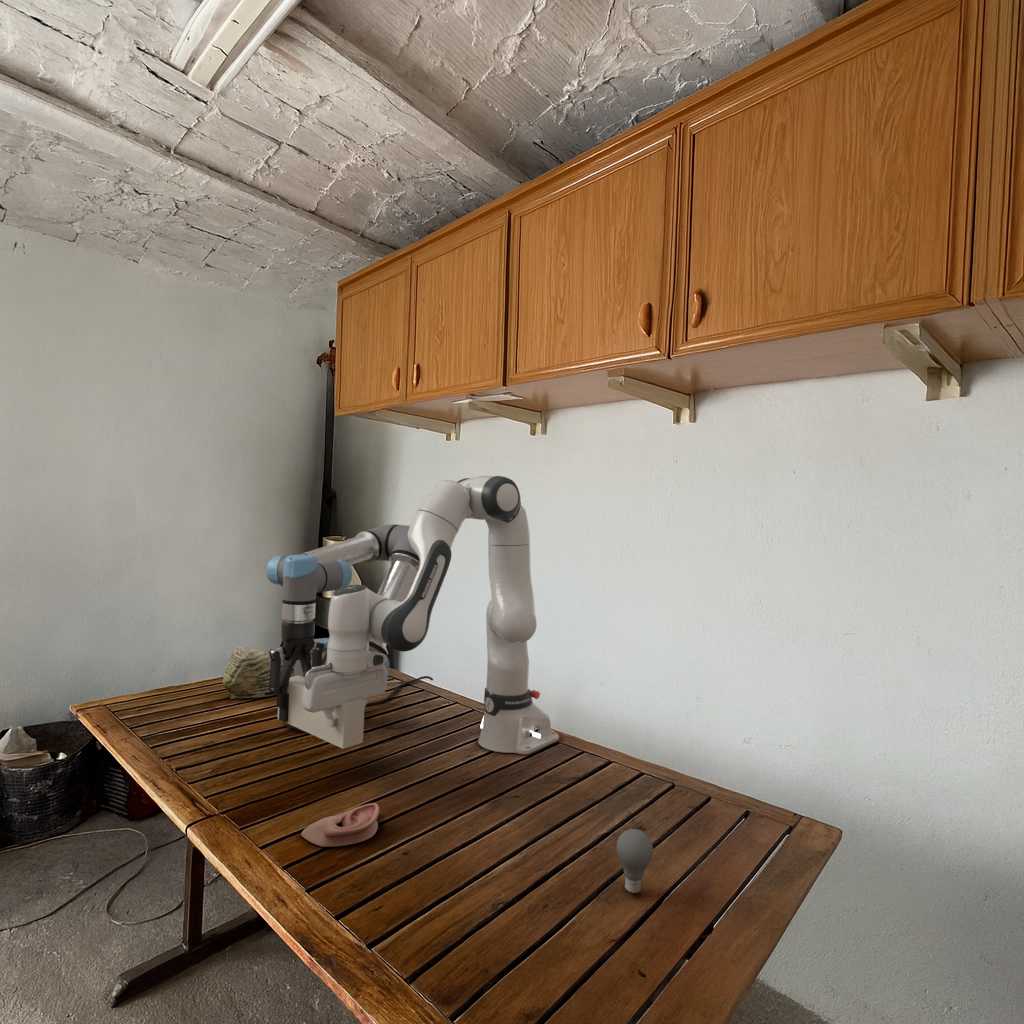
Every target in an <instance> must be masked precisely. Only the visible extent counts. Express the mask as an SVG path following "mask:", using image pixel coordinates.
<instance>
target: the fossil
mask: <svg viewBox="0 0 1024 1024" xmlns="http://www.w3.org/2000/svg"><path fill="white" fill-rule="evenodd" d="M270 665H271V659H270V655H269V654H267V653H266V652H265V650H264V649H263V648H260V647H258V648H251V647H247V646H246V647H245V646H238V647H237V648H236V649H235V650H233V651H232V653H231V656H230V657H229V659H228V660H227V663H226V666H225V668H224V671H223V675H222V676H223V677H222V685H223V687H224V688H225V690H226V691H228V693H229V698H230V699H250V698H264V697H271V696H275V695H276V696H277V694H276V693H273V692H271V691H269V681H270Z"/></svg>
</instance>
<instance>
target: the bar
mask: <svg viewBox="0 0 1024 1024" xmlns="http://www.w3.org/2000/svg"><path fill="white" fill-rule="evenodd" d="M304 685H305V677H302V676H299V675H298V676H294V675H292V676H290V680H289V684H288V687H287V691H286V693H288V694H289V712H288V722H285V724H286V723H288V724H290V725H292V726H294V727H297V728H299V729H301V730H303V731H305V732H304V733H307V734H310V735H312V736H314V737H316V738H319V739H320V740H323V741H325V742H327V743H329V744H331V745H333V746H336V747H338V748H339V749H342V750H345V749H349V748H350V747H354V746H356V745H359V744H362V743H364V729H365V728H364V727H365V725H364V724H365V708H364V705H365V700H364V699H362V698H359V699H356V700H352V701H348V702H344V703H341V705H340V706H337V707H334V712H332V714H333V716H334V717H335V718H338V722H337V726H335V727H332V728H330V727H328V726H327V718H326V716H325V714H324V712H323V710H322V711H319V712H315V713H312V712H309V711H307V710H305V709H304V708H303V707H302V697H303V690H304ZM277 720H279V707H277Z"/></svg>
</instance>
